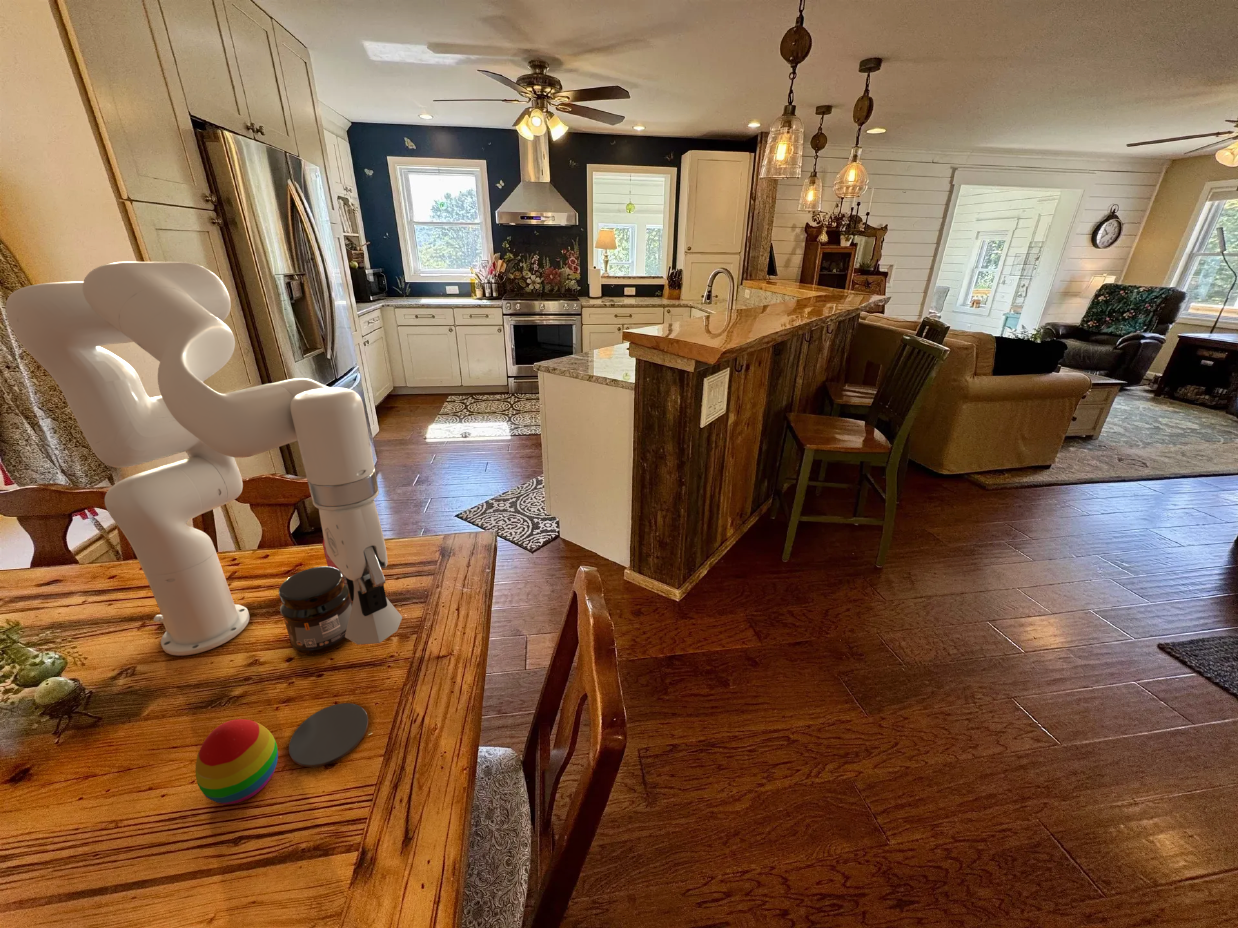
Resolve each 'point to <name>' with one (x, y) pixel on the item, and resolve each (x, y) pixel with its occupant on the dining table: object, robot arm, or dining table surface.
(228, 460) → the robot arm
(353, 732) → the coaster
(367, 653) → the dining table surface
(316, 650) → the supplement container
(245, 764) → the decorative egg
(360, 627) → the flask
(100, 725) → the dining table surface
